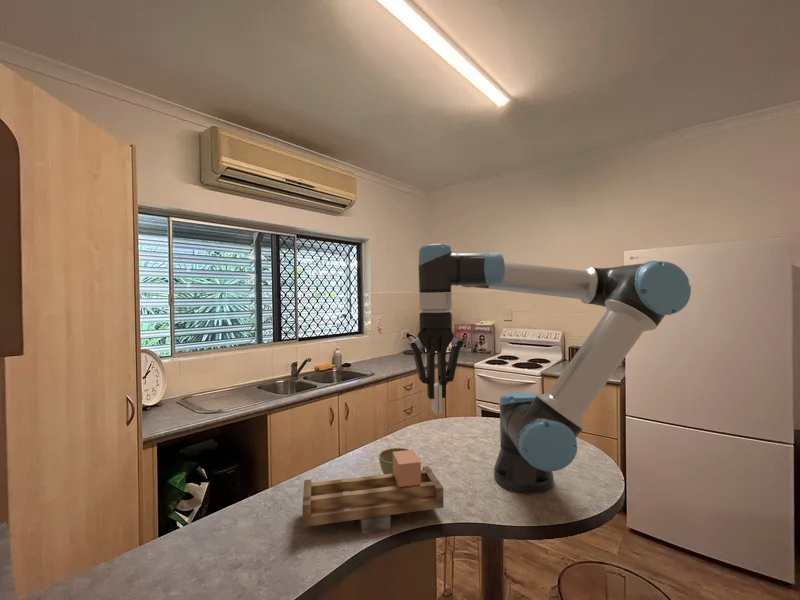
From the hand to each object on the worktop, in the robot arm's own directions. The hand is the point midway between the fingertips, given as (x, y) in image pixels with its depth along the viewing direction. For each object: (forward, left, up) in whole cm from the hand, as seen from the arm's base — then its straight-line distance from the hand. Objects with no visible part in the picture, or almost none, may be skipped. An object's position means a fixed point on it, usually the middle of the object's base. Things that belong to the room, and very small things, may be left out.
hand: (436, 412), depth 89 cm
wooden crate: (+13, +9, -22) cm, 27 cm away
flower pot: (+14, -8, -23) cm, 28 cm away
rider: (+6, +4, -17) cm, 19 cm away
